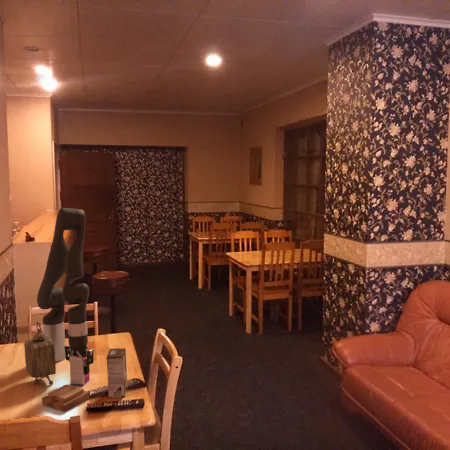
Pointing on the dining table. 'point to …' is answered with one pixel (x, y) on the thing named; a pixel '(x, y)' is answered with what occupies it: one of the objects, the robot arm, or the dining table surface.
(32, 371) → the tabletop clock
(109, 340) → the dining table surface
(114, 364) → the coffee box
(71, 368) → the supplement box
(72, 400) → the walnut base
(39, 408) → the dining table surface
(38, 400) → the dining table surface
